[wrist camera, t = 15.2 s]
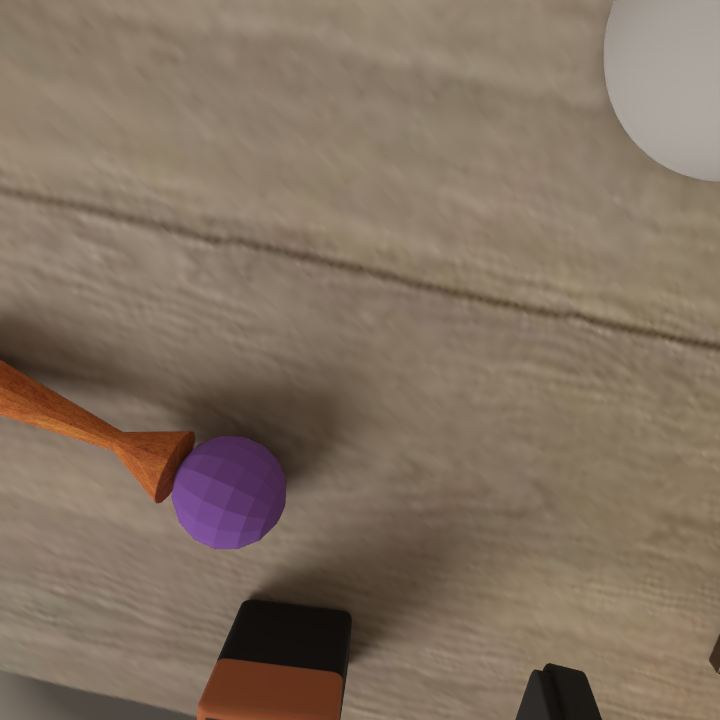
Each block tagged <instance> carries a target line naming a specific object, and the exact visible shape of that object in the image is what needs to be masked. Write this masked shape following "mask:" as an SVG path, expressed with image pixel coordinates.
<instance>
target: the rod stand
mask: <svg viewBox="0 0 720 720" xmlns="http://www.w3.org/2000/svg"><path fill="white" fill-rule="evenodd" d="M709 661H710V663H711V664H712V666H713V667H714V669H715V670H716V672H717V673H718V674H720V635H719V637H718V640H717V642H716V645H715V647H714V649H713V652H712V654H711V657H710V659H709Z"/></svg>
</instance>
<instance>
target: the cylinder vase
mask: <svg viewBox="0 0 720 720" xmlns="http://www.w3.org/2000/svg"><path fill="white" fill-rule="evenodd" d="M604 73H605V80H606V85H607V90H608V94H609V97H610V100H611V103H612V106H613V108H614V111H615V113H616V115H617V117H618V119H619V121H620V123H621V124H622V126H623V128H624V129H625V131H626V132H627V133H628V135H629V136H630V137H631V139H632V140H633V141H634V142H635V143H636V144H637V145H638V146H639V147H640V148H641V149H642V150H643V151H644V152H645V153H646V154H647V155H648V156H650V157H651V158H652V159H654V160H655V161H657V162H658V163H660V164H661V165H663V166H665V167H667V168H669V169H671V170H673V171H675V172H677V173H680V174H683V175H685V176H689V177H692V178H696V179H701V180H707V181H716V182H720V0H614V2H613V5H612V8H611V11H610V15H609V18H608V22H607V27H606V33H605V40H604Z"/></svg>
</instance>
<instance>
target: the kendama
mask: <svg viewBox="0 0 720 720" xmlns="http://www.w3.org/2000/svg"><path fill="white" fill-rule="evenodd" d="M0 415H3V416H6V417H9V418H12V419H15V420H18V421H22V422H25V423H28V424H31V425H34V426H37V427H41V428H44V429H47V430H50V431H53V432H56V433H59V434H63V435H66V436H69V437H72V438H75V439H78V440H82V441H85V442H88V443H91V444H94V445H97V446H101V447H104V448H107V449H110V450H113V451H114V452H115V454H116V455H117V456H118V457H119V458H120V460H121V461H122V462H123V463H124V464H125V466H126V467H127V468H128V469H129V471H130V472H131V473H132V474H133V475H134V477H135V478H136V479H137V480H138V482H139V483H140V484H141V485H142V486H143V488H144V489H145V490H146V491H147V493H148V494H149V495H150V496H151V497H152V499H153V500H154V501H155V502H156V503H161V502H162V501H164V500H165V499H166V498H167V497H168V496H169V494H170V493H171V491H172V490H173V492H172V501H173V504H174V507H175V510H176V513H177V517H178V520H179V523H180V524H181V525H182V526H183V527H184V529H185V530H186V531H187V532H188V533H189V534H190V535H191V536H192V538H193V539H194V540H196V541H199V542H201V543H203V544H205V545H208V546H210V547H212V548H214V549H239V548H241V547H244V546H246V545H249V544H251V543H254V542H256V541H259V540H260V539H261V538H262V537H263V536H264V535H265V534H266V533H268V532H269V531H270V530H271V529H272V528H273V527H274V526H275V525H276V524H277V522H278V520H279V518H280V516H281V514H282V512H283V509H284V507H285V499H286V479H285V477H284V474H283V471H282V468H281V466H280V463H279V461H278V460H277V459H276V458H275V457H274V455H273V454H272V453H271V452H270V451H269V450H268V449H267V448H266V447H265V446H264V445H262V444H259V443H257V442H255V441H252V440H250V439H248V438H246V437H241V436H218V437H216V438H213V439H211V440H208V441H206V442H203V443H201V444H199V445H198V446H197V447H195V448H194V449H193V447H194V441H195V434H194V432H191V431H178V432H122V431H120V430H118V429H116V428H115V427H113V426H111V425H110V424H108V423H106V422H105V421H103V420H101V419H100V418H98V417H96V416H95V415H93V414H91V413H89V412H88V411H86V410H84V409H83V408H81V407H79V406H78V405H76V404H74V403H73V402H71V401H69V400H67V399H66V398H64V397H62V396H61V395H59V394H57V393H56V392H54V391H52V390H51V389H49V388H47V387H45V386H44V385H42V384H40V383H39V382H37V381H35V380H34V379H32V378H30V377H29V376H27V375H25V374H23V373H22V372H20V371H18V370H17V369H15V368H13V367H12V366H10V365H8V364H7V363H5V362H3V361H1V360H0Z"/></svg>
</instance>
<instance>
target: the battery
mask: <svg viewBox="0 0 720 720" xmlns="http://www.w3.org/2000/svg"><path fill="white" fill-rule="evenodd" d="M351 624H352V618H351V615H350V614H349V613H347V612H344V611H336V610H328V609H320V608H312V607H304V606H295V605H287V604H279V603H271V602H263V601H254V600H247V601H244V602H243V603H242V605H241V607H240V609H239V611H238V614H237V616H236V618H235V621H234V623H233V625H232V628H231V630H230V632H229V635H228V637H227V639H226V641H225V644H224V646H223V648H222V651H221V653H220V655H219V658H218V660H217V662H216V665H215V667H214V669H213V672H212V674H211V676H210V679H209V681H208V683H207V685H206V688H205V690H204V692H203V695H202V697H201V699H200V702H199V704H198V711H197V720H340V718H341V711H342V704H343V697H344V690H345V683H346V676H347V668H348V658H349V647H350V635H351Z"/></svg>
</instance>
